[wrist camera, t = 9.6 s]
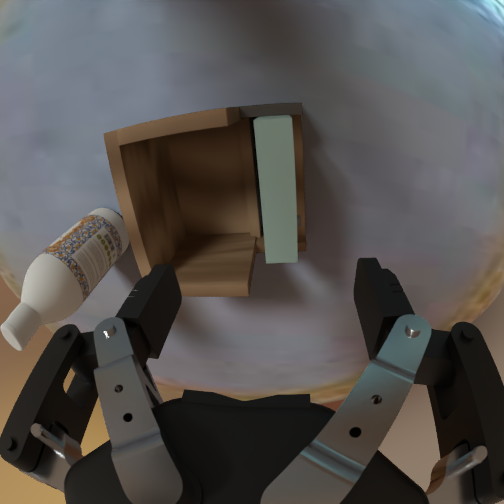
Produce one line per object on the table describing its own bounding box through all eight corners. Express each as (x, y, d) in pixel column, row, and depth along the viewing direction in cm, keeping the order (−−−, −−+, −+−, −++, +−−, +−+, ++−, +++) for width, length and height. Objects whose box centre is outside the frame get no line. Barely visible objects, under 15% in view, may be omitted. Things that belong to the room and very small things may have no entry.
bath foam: (107, 195, 30) (-11, 296, 13) (141, 238, 33) (48, 361, 15) (80, 224, 32) (-18, 320, 15) (111, 261, 35) (30, 371, 18)
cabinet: (157, 120, 25) (103, 133, 17) (298, 103, 23) (309, 102, 15) (180, 242, 32) (148, 295, 24) (304, 237, 31) (312, 294, 22)
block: (261, 114, 24) (253, 120, 17) (292, 113, 24) (298, 117, 16) (270, 217, 30) (266, 263, 22) (297, 216, 29) (303, 262, 22)
